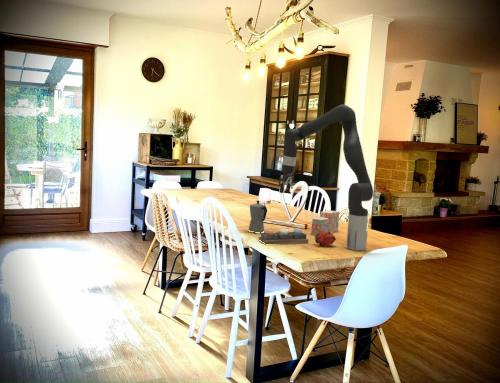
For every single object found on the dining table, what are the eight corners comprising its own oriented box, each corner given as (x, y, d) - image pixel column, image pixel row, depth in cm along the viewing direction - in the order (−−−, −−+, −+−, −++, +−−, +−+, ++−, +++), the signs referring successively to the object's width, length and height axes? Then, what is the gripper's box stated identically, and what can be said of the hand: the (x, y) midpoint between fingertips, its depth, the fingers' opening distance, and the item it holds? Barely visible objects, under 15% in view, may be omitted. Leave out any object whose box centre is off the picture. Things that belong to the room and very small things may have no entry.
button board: (308, 243, 239) (308, 235, 239) (266, 244, 230) (266, 236, 230) (299, 239, 248) (299, 231, 248) (258, 240, 240) (258, 231, 239)
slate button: (303, 235, 241) (303, 229, 240) (295, 235, 239) (296, 230, 239) (299, 233, 245) (299, 228, 244) (291, 234, 243) (292, 228, 243)
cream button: (289, 236, 238) (289, 230, 237) (281, 236, 236) (282, 230, 236) (285, 234, 242) (286, 228, 241) (278, 234, 240) (278, 228, 240)
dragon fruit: (311, 248, 235) (332, 251, 239) (319, 241, 228) (340, 245, 232) (310, 233, 240) (331, 236, 243) (317, 226, 233) (339, 230, 236)
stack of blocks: (320, 236, 261) (322, 214, 259) (310, 234, 265) (312, 213, 263) (337, 231, 278) (339, 211, 276) (328, 230, 281) (330, 209, 280)
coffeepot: (243, 230, 265) (244, 198, 263) (256, 229, 270) (258, 198, 268) (258, 235, 252) (260, 202, 250) (272, 234, 257) (274, 202, 255)
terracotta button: (275, 236, 235) (275, 230, 234) (267, 236, 233) (267, 230, 233) (271, 234, 239) (272, 228, 238) (263, 234, 237) (264, 228, 237)
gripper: (289, 166, 254) (285, 194, 257) (299, 164, 266) (295, 192, 269) (277, 163, 257) (273, 192, 260) (288, 162, 269) (283, 189, 272)
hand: (284, 192), depth 264 cm, fingers open, 8 cm apart
